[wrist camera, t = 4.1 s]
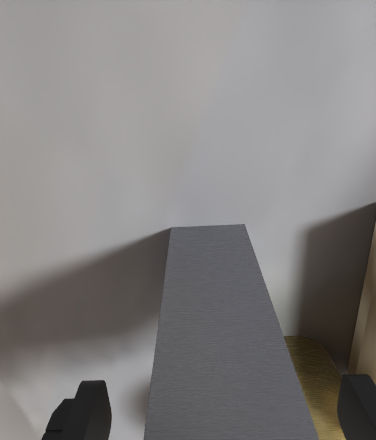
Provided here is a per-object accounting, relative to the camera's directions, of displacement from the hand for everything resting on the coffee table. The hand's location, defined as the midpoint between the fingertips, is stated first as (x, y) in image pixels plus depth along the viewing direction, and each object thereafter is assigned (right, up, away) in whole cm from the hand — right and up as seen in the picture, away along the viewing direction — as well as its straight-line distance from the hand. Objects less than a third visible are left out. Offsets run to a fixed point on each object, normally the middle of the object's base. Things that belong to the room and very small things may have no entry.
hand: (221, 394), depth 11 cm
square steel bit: (0, +4, +8) cm, 8 cm away
